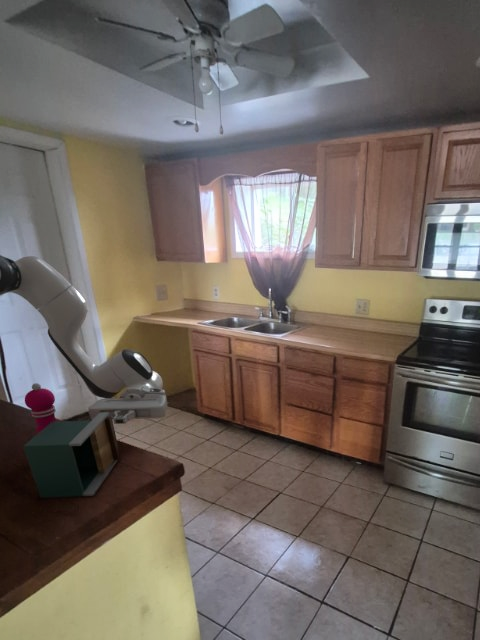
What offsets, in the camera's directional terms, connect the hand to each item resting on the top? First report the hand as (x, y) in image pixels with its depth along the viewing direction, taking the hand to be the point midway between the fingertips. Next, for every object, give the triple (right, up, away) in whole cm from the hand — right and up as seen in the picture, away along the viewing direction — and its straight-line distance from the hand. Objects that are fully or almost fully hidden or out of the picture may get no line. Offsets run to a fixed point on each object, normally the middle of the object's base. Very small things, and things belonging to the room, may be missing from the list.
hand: (119, 421), depth 97 cm
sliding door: (+1, -10, -6) cm, 12 cm away
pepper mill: (-16, -9, -1) cm, 18 cm away
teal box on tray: (-4, -13, -10) cm, 16 cm away
